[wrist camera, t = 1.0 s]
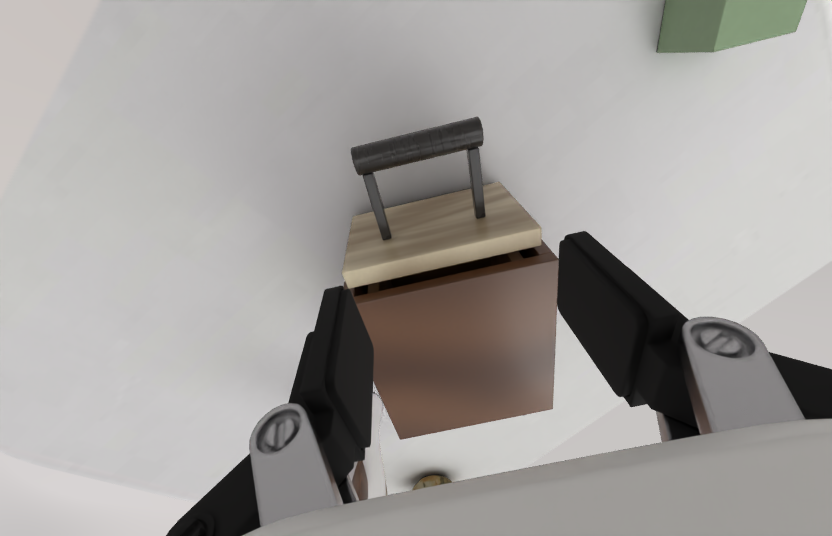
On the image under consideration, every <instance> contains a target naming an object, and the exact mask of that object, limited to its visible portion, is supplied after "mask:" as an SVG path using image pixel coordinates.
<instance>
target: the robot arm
mask: <svg viewBox="0 0 832 536" xmlns="http://www.w3.org/2000/svg"><path fill="white" fill-rule="evenodd" d="M557 306H558V309H559V312H560V313H561V315H562V316H563V318H564V319H565V321H566V322H567V324H568V325H569V327H570V328H571V330H572V331H573V333H574V334H575V335H576V337H577V338H578V340H579V341H580V343H581V344H582V346H583V347H584V349H585V350H586V352H587V353H588V354H589V356H590V357H591V359H592V360H593V362H594V363H595V365H596V366H597V368H598V369H599V371H600V372H601V373H602V375H603V376H604V378H605V379H606V381H607V382H608V384H609V385H610V387H611V388H612V390H613V391H614V392H615V394H616V395H617V396H619V397H622V396H623V397H624V398H625V400H626V401H627V402H628V404H629V405H630V407H635V406H640V405H645V404H648V405H649V407H650V408H651V409H653V410H655V411H656V414H657V419H658V425H659V430H660V435H661V440H662V443H656V444H651V445H645V446H640V447H634V448H629V449H624V450H618V451H613V452H608V453H602V454H597V455H592V456H587V457H581V458H576V459H571V460H565V461H561V462H556V463H550V464H545V465H539V466H535V467H529V468H524V469H519V470H514V471H508V472H503V473H498V474H493V475H488V476H483V477H477V478H472V479H467V480H462V481H457V482H452V483H447V484H442V485H437V486H432V487H427V488H422V489H417V490H412V491H406V492H401V493H396V494H391V495H386V496H381V497H376V498H371V499H367V500H362V501H359V498H358V496H357V494H356V491H355V489H354V486H353V484H352V481H351V479H350V476H349V473H350V472H351V471H352V469H353V468H354V462H358V461H363V460H365V448H368V447H370V445H371V430H372V399H373V368H374V348H373V344H372V341H371V339H370V336H369V334H368V332H367V329H366V327H365V324H364V322H363V320H362V317H361V315H360V312H359V310H358V308H357V305H356V303H355V300H354V298H353V296H352V293H351V291H350V289H344V287H343V286H339V287H334V288H330V289H326V290H325V291H324V294H323V298H322V302H321V306H320V310H319V314H318V318H317V322H316V326H315V330H314V332H310V333H309V334H308V335H307V337H306V341H305V344H304V348H303V352H302V355H301V359H300V362H299V366H298V370H297V373H296V377H295V381H294V384H293V388H292V392H291V395H290V399H289V403H288V404H283V405H280V406H278V407H276V408H274V409H272V410H271V411H270V412H268V413H267V414H266V415H265V416H264V417H263V418H262V419H261V420H260V421H259V422H258V423H257V425H256V427H255V428H254V430H253V432H252V434H251V437H250V443H249V450H250V454H249V455H248V456H247V457H245V458H244V459H243V460H242V461H241V462H240V463H239V464H238V465H237V466H236V467H235V468H234V469H233V470H232V471H231V472H229V473H228V474H227V475H226V476H225V477H224V478H223V479H222V480H221V481H220V482H219V483H218V484H217V485H216V486H215V487H214V488H212V489H211V490H210V491H209V492H208V493H207V494H206V495H205V496H204V497H203V498H202V499H201V500H200V501H199V502H198V503H197V504H196V505H194V506H193V507H192V508H191V509H190V510H189V511H188V512H187V513H186V514H185V515H184V516H183V517H182V518H181V519H179V521H178V522H177V523H176V524H175V525H174V526H173V527H172V528H171V530H170V531H169V532H168V534H167V535H166V536H832V369H829V368H825V367H821V366H817V365H814V364H810V363H807V362H803V361H800V360H796V359H792V358H789V357H785V356H781V355H778V354H773V353H770V352H768V350H767V348H766V347H765V345H764V343H763V342H762V340H761V339H760V338H759V337H758V336H757V335H756V334H755V333H754V332H752V331H751V330H749V329H748V328H746V327H744V326H742V325H740V324H738V323H736V322H733V321H729V320H726V319H722V318H716V317H698V318H693V319H691V320H688V319H687V318H686V317H685V316H684V315H682V314H681V313H680V312H679V311H678V310H677V309H676V308H674V307H673V306H672V305H671V304H670V303H669V302H667V301H666V300H665V299H664V298H663V297H662V296H661V295H659V294H658V293H657V292H656V291H655V290H654V289H652V288H651V287H650V286H649V285H648V284H647V283H646V282H644V281H643V280H642V279H641V278H640V277H639V276H637V275H636V274H635V273H634V272H633V271H632V270H631V269H629V268H628V267H627V266H625V265H624V264H623V263H622V262H621V261H620V260H618V259H617V258H616V257H615V256H614V255H613V254H612V253H610V252H609V251H608V250H607V249H606V248H605V247H604V246H602V245H601V244H600V243H599V242H598V241H597V240H595V239H594V238H593V237H592V236H591V235H590V234H589V233H587V232H586V231H582V232H578V233H573V234H569V235H566V236H565V238H564V240H562V241H560V245H559V268H558V293H557Z"/></svg>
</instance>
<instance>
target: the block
mask: <svg viewBox="0 0 832 536" xmlns="http://www.w3.org/2000/svg"><path fill="white" fill-rule="evenodd" d="M806 2H807V0H666V2H665V8H664V14H663V20H662V26H661V31H660V37H659V43H658V49H657V53H685V52H716V51H720V50H724V49H728V48H732V47H736V46H741V45H745V44H749V43H753V42H757V41H761V40H765V39H769V38H773V37H777V36H781V35H785V34H789V33H793V32H796V30H797V27H798V24H799V22H800V19H801V16H802V13H803V11H804V8H805V5H806Z"/></svg>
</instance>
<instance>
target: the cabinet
mask: <svg viewBox="0 0 832 536" xmlns="http://www.w3.org/2000/svg"><path fill="white" fill-rule="evenodd" d="M519 253H520V254H521V256H522V257H523V259H521V260H516V261H512V262H507V263H503V264H498V265H494V266H489V267H485V268H481V269H476V270H472V271H467V272H463V273H458V274H454V275H449V276H445V277H440V278H436V279H431V280H427V281H422V282H418V283H413V284H409V285H405V286H400V287H396V288H391V289H387V290H382V291H378V292H373V293H369V294H367V293H368V285H363V286H359V287H354V288H350V291H351V293H352V296H353V298H354V300H355V303H356V305H357V308H358V310H359V312H360V315H361V317H362V320H363V322H364V324H365V327H366V329H367V332H368V334H369V336H370V339H371V341H372V344H373V348H374V368H373V381H374V384H375V386H376V388H377V390H378V392H379V395H380V397H381V399H382V401H383V403H384V405H385V408H386V410H387V412H388V414H389V416H390V419H391V421H392V423H393V425H394V427H395V430H396V432H397V434H398V436H399V438H400V440H401V439H406V438H411V437H416V436H421V435H426V434H431V433H436V432H441V431H446V430H451V429H456V428H461V427H466V426H471V425H476V424H481V423H486V422H491V421H496V420H501V419H506V418H511V417H516V416H521V415H526V414H531V413H536V412H541V411H546V410H551V409H553V390H554V365H555V340H556V315H557V291H558V266H559V259H558V258H557V257H556V255H555V254H554V253H552V251H551V250H550V249H549V247H548V246H547V245H546V244H545V243H544V242H543V240H542V239H541V246H536V247H532V248H528V249H523V250H519ZM344 289H349V288H348V287H347V284H346V282H344Z"/></svg>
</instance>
